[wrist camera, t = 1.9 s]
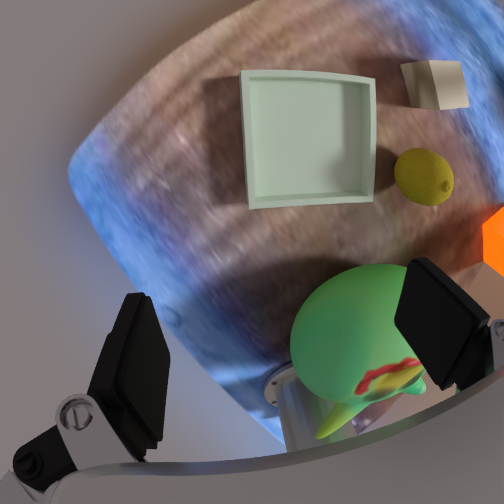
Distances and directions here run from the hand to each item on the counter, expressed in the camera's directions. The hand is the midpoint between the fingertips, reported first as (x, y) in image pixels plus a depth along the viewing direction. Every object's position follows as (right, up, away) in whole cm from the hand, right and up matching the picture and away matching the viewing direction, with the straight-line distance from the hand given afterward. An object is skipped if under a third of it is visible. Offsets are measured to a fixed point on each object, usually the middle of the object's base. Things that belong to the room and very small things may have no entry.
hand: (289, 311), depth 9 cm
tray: (+4, +13, +15) cm, 20 cm away
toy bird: (+11, -4, +24) cm, 27 cm away
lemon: (+15, +11, +17) cm, 25 cm away
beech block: (+17, +20, +13) cm, 30 cm away
